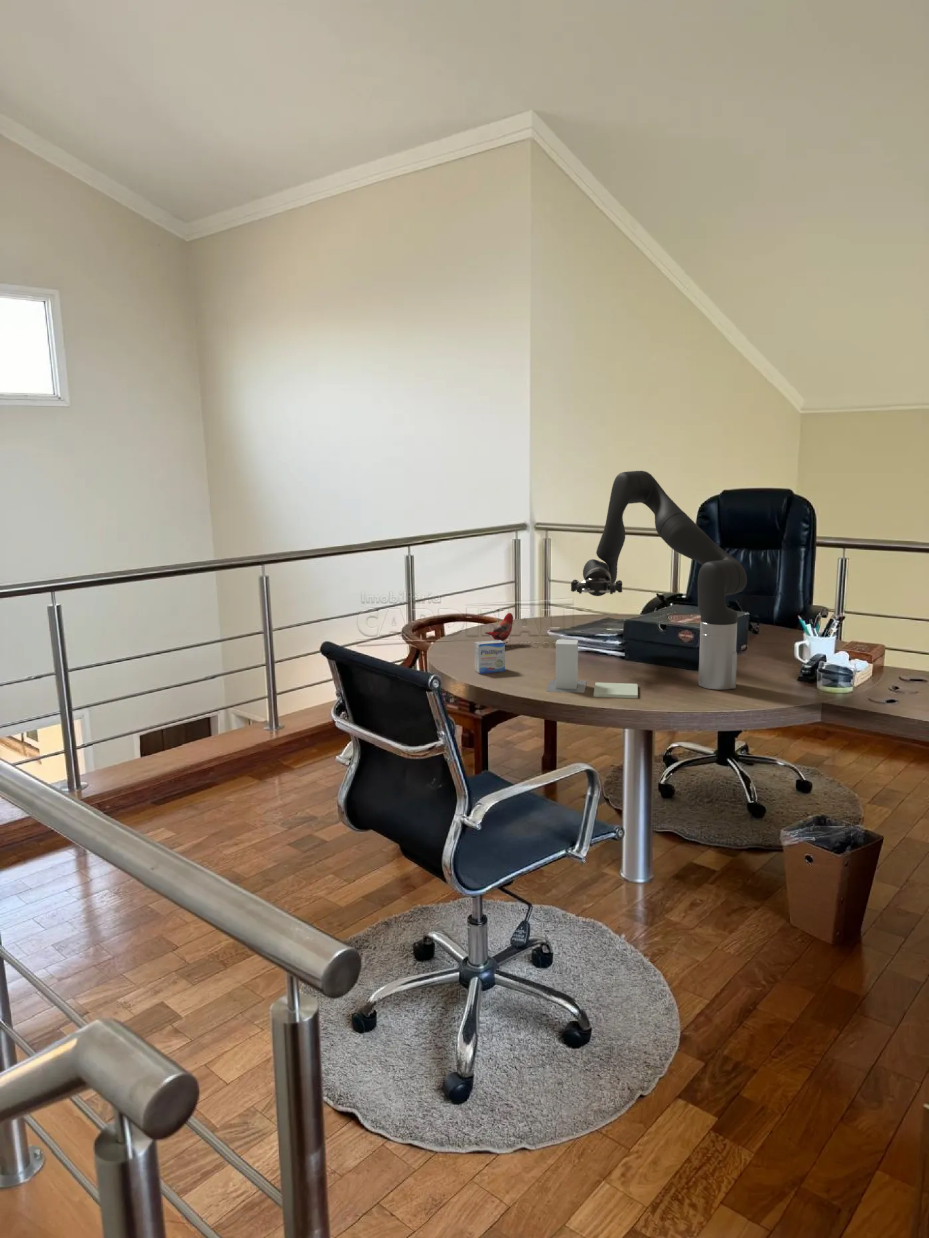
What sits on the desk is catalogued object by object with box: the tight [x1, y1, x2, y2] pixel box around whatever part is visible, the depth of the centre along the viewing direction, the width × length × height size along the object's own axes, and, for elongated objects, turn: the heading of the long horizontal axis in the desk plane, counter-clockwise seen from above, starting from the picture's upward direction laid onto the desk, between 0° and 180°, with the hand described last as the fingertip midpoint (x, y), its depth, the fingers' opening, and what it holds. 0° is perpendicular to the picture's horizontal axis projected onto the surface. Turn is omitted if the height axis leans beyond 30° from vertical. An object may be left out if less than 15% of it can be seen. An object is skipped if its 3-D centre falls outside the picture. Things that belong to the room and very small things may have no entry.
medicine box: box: [473, 639, 506, 675], centre depth 248 cm, size 8×4×9 cm, turn 105°
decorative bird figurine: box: [484, 612, 514, 645], centre depth 279 cm, size 3×18×10 cm, turn 147°
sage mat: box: [593, 682, 639, 699], centre depth 225 cm, size 11×11×1 cm
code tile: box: [545, 679, 588, 694], centre depth 231 cm, size 10×12×1 cm
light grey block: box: [555, 639, 579, 689], centre depth 230 cm, size 6×6×12 cm
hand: (595, 590), depth 239 cm, fingers open, 8 cm apart
